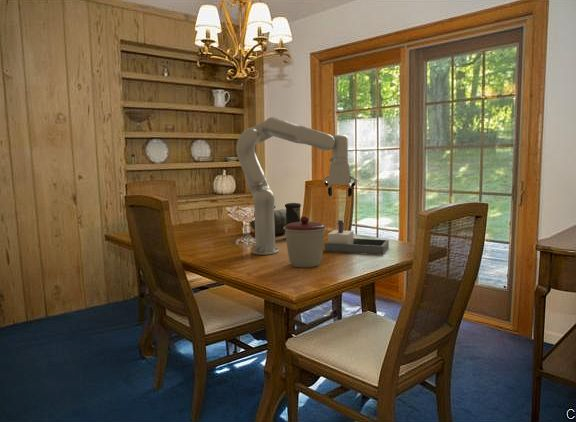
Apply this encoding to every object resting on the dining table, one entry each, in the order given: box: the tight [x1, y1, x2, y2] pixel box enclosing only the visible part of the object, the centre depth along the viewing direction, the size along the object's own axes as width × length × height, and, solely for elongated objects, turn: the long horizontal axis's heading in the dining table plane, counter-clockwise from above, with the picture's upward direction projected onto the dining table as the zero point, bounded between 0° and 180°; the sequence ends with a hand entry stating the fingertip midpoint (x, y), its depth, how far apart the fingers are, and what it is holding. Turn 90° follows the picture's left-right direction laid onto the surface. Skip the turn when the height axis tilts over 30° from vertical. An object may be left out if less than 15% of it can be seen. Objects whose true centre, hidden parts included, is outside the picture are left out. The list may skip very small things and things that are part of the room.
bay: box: [324, 237, 390, 256], centre depth 218 cm, size 16×28×4 cm, turn 68°
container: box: [284, 202, 302, 225], centre depth 250 cm, size 9×9×20 cm
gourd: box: [249, 205, 286, 236], centre depth 266 cm, size 25×25×17 cm
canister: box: [283, 215, 327, 269], centre depth 189 cm, size 18×18×21 cm
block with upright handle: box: [327, 219, 354, 244], centre depth 220 cm, size 11×10×13 cm
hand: (340, 196), depth 218 cm, fingers open, 9 cm apart
